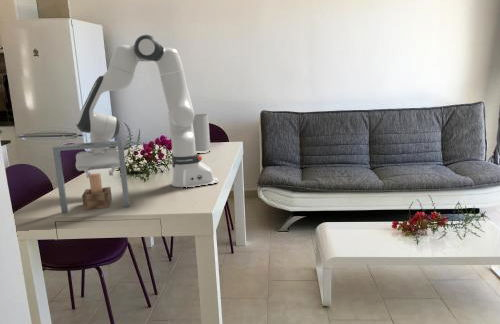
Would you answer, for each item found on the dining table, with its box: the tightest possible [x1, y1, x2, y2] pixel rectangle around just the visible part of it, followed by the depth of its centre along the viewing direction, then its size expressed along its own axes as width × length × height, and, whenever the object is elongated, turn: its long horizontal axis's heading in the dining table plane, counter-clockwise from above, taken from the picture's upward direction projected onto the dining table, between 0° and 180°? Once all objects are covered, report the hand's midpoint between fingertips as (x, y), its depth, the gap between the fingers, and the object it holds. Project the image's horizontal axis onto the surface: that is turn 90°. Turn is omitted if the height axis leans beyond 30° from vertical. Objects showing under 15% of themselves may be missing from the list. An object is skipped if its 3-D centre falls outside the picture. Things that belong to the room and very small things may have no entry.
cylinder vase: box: [193, 113, 211, 151], centre depth 288 cm, size 12×12×25 cm
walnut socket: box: [81, 186, 113, 211], centre depth 180 cm, size 10×10×6 cm
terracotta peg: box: [88, 172, 103, 194], centre depth 179 cm, size 4×4×12 cm
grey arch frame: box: [52, 140, 131, 214], centre depth 174 cm, size 26×6×26 cm, turn 102°
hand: (99, 176), depth 191 cm, fingers open, 8 cm apart
